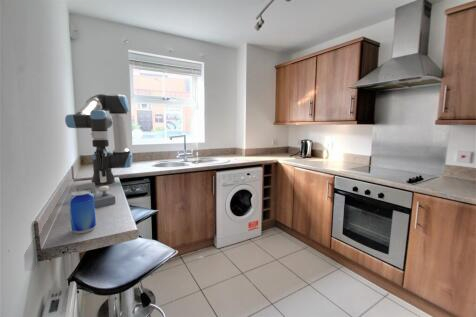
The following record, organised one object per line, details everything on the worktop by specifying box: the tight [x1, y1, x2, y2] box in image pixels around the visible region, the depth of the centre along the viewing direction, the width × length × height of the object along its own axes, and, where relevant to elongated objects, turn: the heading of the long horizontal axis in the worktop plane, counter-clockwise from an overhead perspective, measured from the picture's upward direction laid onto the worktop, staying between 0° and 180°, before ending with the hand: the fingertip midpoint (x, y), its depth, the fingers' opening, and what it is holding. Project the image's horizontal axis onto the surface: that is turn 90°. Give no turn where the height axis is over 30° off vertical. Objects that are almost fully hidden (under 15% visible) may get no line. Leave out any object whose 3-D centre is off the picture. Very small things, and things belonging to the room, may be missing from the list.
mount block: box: [94, 192, 116, 209], centre depth 126 cm, size 13×12×4 cm
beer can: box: [68, 190, 97, 234], centre depth 94 cm, size 8×8×16 cm
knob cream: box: [99, 185, 110, 197], centre depth 128 cm, size 4×4×6 cm
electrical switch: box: [75, 182, 98, 194], centre depth 135 cm, size 9×5×9 cm, turn 141°
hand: (103, 182), depth 127 cm, fingers closed
